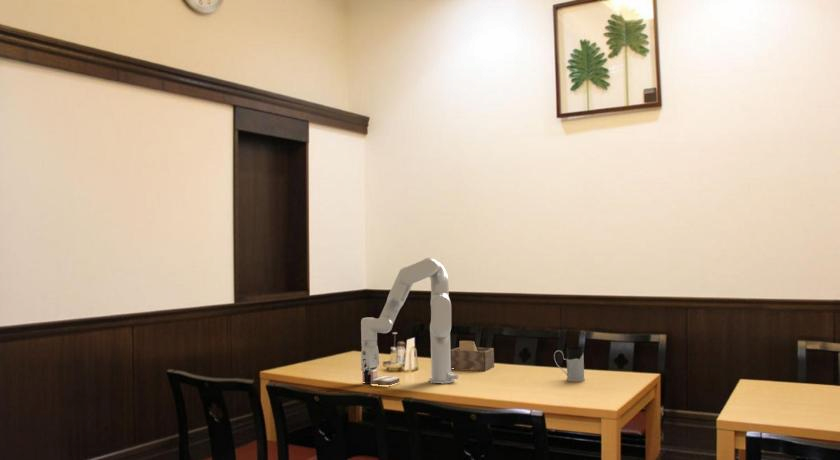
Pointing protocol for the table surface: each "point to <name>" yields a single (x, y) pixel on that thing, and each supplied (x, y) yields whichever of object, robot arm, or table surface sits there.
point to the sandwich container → (467, 347)
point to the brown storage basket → (473, 359)
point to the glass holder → (574, 364)
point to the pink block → (373, 374)
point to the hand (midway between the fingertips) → (370, 381)
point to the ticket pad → (385, 380)
